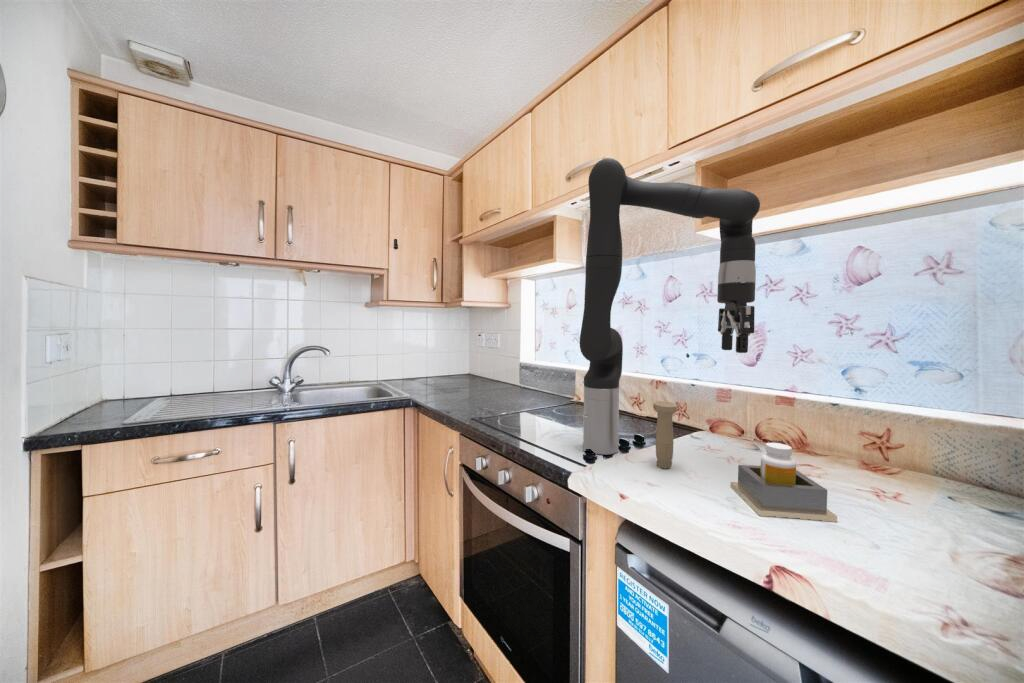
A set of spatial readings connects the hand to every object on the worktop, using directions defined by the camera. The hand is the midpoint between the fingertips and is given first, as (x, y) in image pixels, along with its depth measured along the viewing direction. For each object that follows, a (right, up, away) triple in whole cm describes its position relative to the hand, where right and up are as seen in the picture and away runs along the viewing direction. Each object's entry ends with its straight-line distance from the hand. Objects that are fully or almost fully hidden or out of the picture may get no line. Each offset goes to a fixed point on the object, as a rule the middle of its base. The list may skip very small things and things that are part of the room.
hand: (733, 351), depth 86 cm
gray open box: (-2, -28, -17) cm, 33 cm away
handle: (-16, -28, +1) cm, 32 cm away
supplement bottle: (-2, -27, -17) cm, 32 cm away
